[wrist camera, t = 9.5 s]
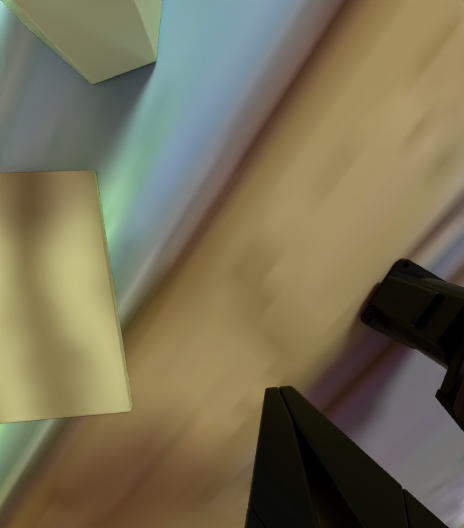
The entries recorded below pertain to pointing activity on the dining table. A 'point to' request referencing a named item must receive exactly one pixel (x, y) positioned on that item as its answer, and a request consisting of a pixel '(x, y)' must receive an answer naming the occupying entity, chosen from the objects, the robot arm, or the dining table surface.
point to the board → (57, 301)
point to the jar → (95, 32)
